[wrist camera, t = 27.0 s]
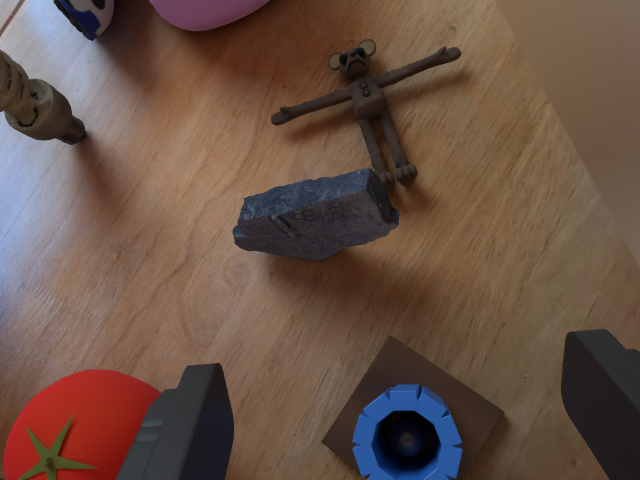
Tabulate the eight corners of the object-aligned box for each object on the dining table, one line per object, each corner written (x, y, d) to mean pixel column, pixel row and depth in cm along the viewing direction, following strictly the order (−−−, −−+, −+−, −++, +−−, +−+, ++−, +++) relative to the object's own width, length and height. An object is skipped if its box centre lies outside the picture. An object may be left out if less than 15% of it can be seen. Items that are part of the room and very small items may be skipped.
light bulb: (109, 147, 51) (-14, 65, 37) (64, 172, 52) (-74, 101, 38) (93, 104, 53) (-30, 11, 39) (50, 129, 53) (-88, 45, 39)
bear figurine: (294, 215, 42) (249, 64, 45) (305, 223, 46) (263, 85, 49) (505, 142, 40) (444, -11, 43) (496, 158, 44) (441, 17, 47)
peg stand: (431, 523, 37) (432, 565, 30) (324, 439, 40) (300, 458, 33) (501, 410, 38) (520, 422, 31) (391, 335, 41) (383, 330, 34)
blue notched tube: (425, 492, 37) (424, 529, 29) (352, 436, 39) (332, 456, 31) (471, 418, 37) (483, 434, 29) (397, 367, 39) (389, 368, 31)
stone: (256, 290, 45) (210, 271, 35) (241, 228, 46) (192, 194, 37) (406, 240, 43) (400, 206, 33) (384, 178, 45) (372, 128, 35)
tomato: (71, 475, 44) (-64, 519, 32) (114, 354, 46) (1, 352, 34) (182, 523, 41) (79, 592, 29) (223, 392, 43) (142, 405, 31)
